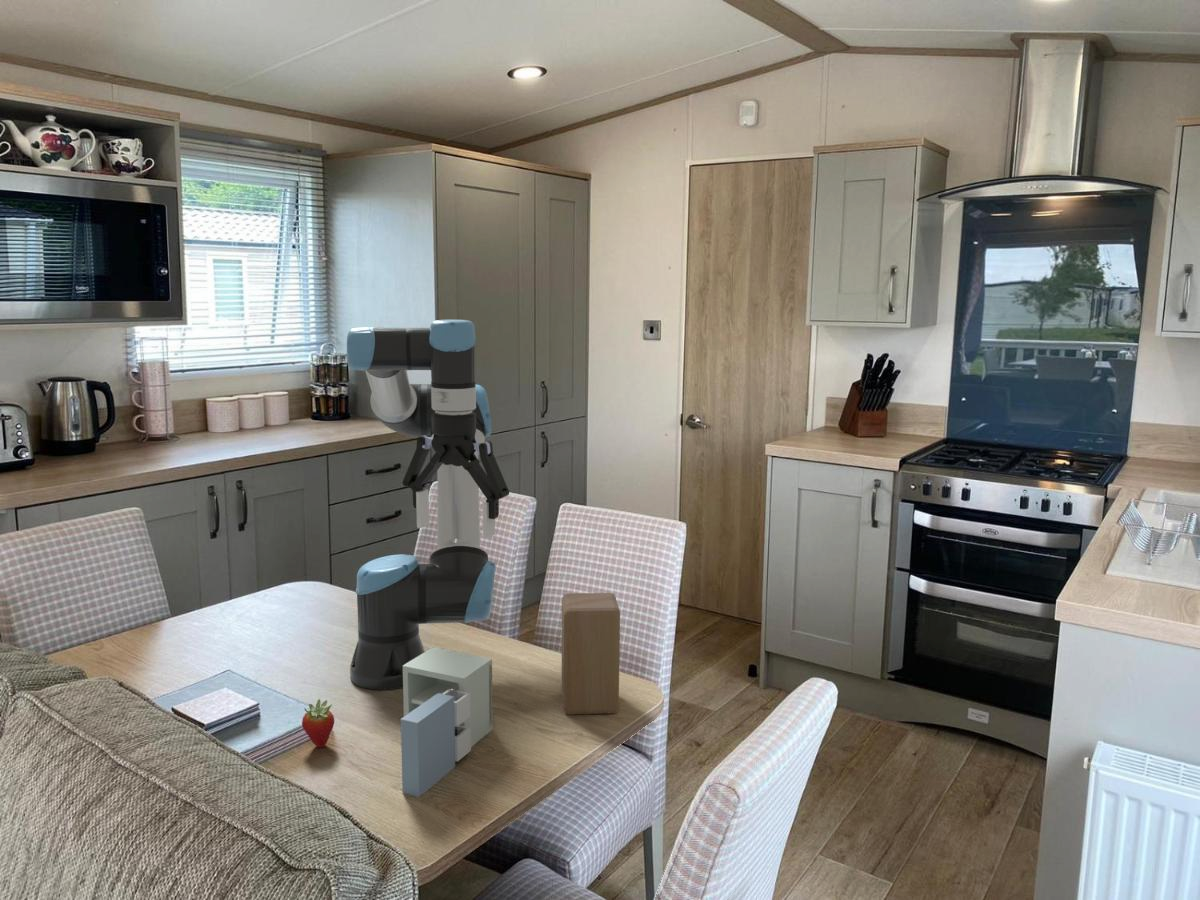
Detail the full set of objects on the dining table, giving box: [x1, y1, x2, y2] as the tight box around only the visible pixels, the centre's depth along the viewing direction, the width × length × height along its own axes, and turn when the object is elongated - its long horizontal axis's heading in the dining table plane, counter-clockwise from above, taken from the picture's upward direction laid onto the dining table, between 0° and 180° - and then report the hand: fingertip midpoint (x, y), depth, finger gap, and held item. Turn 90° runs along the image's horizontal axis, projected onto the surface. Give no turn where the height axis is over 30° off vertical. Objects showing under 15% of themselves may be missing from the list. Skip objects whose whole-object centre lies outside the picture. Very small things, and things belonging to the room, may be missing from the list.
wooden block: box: [561, 592, 621, 715], centre depth 171 cm, size 10×10×20 cm
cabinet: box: [402, 646, 493, 748], centre depth 160 cm, size 12×9×13 cm
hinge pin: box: [449, 689, 458, 763], centre depth 152 cm, size 2×4×12 cm, turn 156°
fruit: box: [301, 698, 335, 748], centre depth 155 cm, size 5×5×8 cm
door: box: [400, 689, 472, 798], centre depth 147 cm, size 4×14×12 cm, turn 156°
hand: (455, 531), depth 164 cm, fingers open, 13 cm apart
